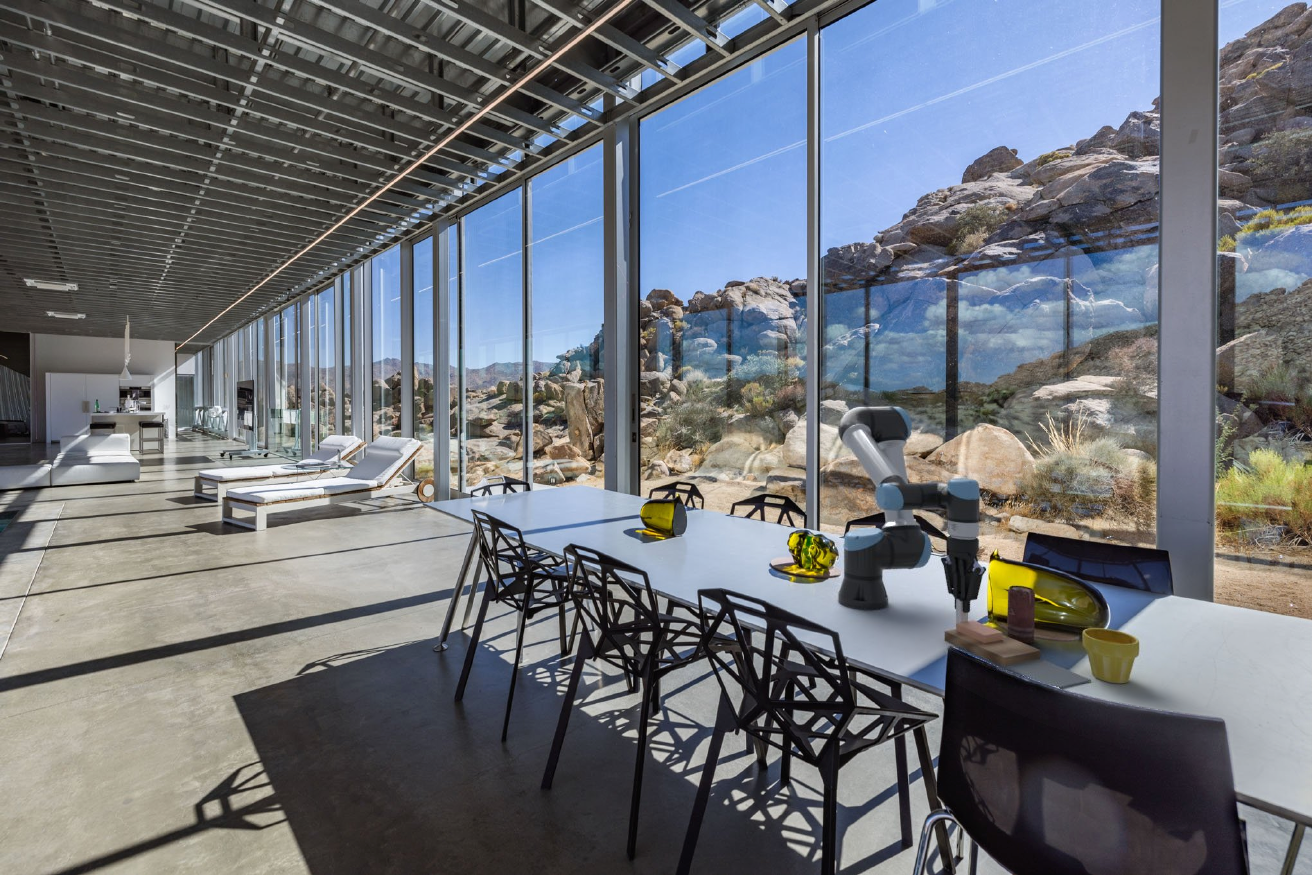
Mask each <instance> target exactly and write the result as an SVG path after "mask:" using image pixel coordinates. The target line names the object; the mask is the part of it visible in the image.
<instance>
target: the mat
mask: <svg viewBox="0 0 1312 875" xmlns="http://www.w3.org/2000/svg"><path fill="white" fill-rule="evenodd" d="M1004 669H1006V670H1008V671H1010V672H1011V673H1014V672H1015V674H1017V675H1019V676H1021V675H1024V676H1025V677H1029V678H1031V679H1034V680H1036V681H1040V682H1041V683H1045V684H1050V685H1051V686H1056V687H1059V688H1061V689H1064V688H1069V687H1073V686H1078V685H1082V684H1086V683H1090V682H1092V679H1091V678H1088V677H1085V676H1083V675H1080V674H1079V673H1077V672H1074V671H1071V670H1069V669H1066V668H1064V667H1061V666H1059V665H1057V664H1055V663H1052V662H1049V661H1047V660H1044V659H1042V658H1041V659H1037V660H1032V661H1027V662H1023V663H1018V664H1013V665H1008V666H1004ZM1025 677H1024V678H1025Z"/></svg>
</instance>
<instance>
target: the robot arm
mask: <svg viewBox="0 0 1312 875" xmlns="http://www.w3.org/2000/svg"><path fill="white" fill-rule="evenodd" d="M837 429H838V436H839V439H840V441H841V442H842V444H843V445H844V446H845V447H846V448H848V449H849V450H851V451H852V453H853V454H854V456H855V457H856V459H857V460H858V462H859V463H860V465H861V466H862V468H863V469H864V471H865V472H866V474H867V475H868V477H869V479H870V480H871V481H872V483H873V484H874V486H875V487H876V488H875V494H874V497H875V500H876V505H877V506H878V507H879V509H881V510H883V512H884V518H885V523H884V525H882V527H881V529H880V528H877V527H859V528H858V527H857V528H854V529H851V530H848V532H846V533H845V535H844V543H843V580H842V581H841V586H840V587H839V588H840V589H839V591H838V592H837V593H838V596H837V597H838V598H837V601H838V602H839V603H840V604H842V605H843V606H846V607H848V608H852V609H857V610H865V611H873V610H877V611H878V610H882V609H885V608H887V607H888V606H889V596H888V593H887V590H886V586H885V584H884V580H883V571H884V570H913V569H919V568H920V569H921V568H923V567H925V566H926V565H927V564H928V563H929V561H930V559H931V555H932V542H931V537H930V536H929V535H928V533H927V532H925V531H923V530H922V528H921V524H920V523H919V522H917V521H916V520H915V518H914V512H913V511H915V510H916V511H917V510H920V511H921V510H943V511H947V534H948V536H947V538H946V540H947V541H946V542H947V543H946V544H947V545H946V546H947V547H946V548H947V550H948V555H947V556H943V557H941V558H940V561H941V563H942V565H943V569H944V571H943V572H944V576H945V582H946V587H947V588H946V589H947V593H948V594H949V595H952V596H953V598H954V610H955V624H956V623H961V622H967V621H969V613H971V601H976V600H978V597H979V593H980V589H981V585H982V580H983V577H984V574H985V573H986V571H987V567H986V566H982V565H980V564H979V559H978V557H977V556H978V555H977V554H978V552H979V550H980V540H979V536H980V502H981V501H980V498H981V493H980V483H979V482H978V481H977V480H976V479H972V478H959V477H958V478H950V479H949V480H948V481H947V482H943V481H939V480H936V481H935V480H934V481H933V480H929V481H927V482H909V480H908V474H907V467H906V461H905V455H904V447H905V446H906V445H907V443H908V442H907V440H908V439H910V437H911V435H912V430H913V426H912V421H911V417H910V415H909V413H908V412H907V411H906V410H905V409H903V407H899V406H890V405H888V406H857V407H853V408H852V409H849V410H847V412H846V413H844V415H843V416H842V417H841V418H840V421H839V424H838V428H837Z"/></svg>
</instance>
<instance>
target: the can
mask: <svg viewBox="0 0 1312 875" xmlns="http://www.w3.org/2000/svg"><path fill="white" fill-rule="evenodd" d="M1035 604H1036V593H1035V591H1034V589H1033V588H1031V587H1028V586H1024V585H1010V586H1009V588H1008V590H1007V620H1006V621H1007V622H1006V626H1007V627H1006V628H1007V630H1006V636H1007V637H1009V638H1012V639H1014V640H1017V641H1019V642H1022V643H1024V644H1027V645H1029V644H1032V643H1034V641H1035V621H1036V620H1035V618H1036V617H1035V615H1036V612H1035V611H1036V610H1035V609H1036V607H1035V606H1036V605H1035Z"/></svg>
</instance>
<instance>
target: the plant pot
mask: <svg viewBox="0 0 1312 875" xmlns="http://www.w3.org/2000/svg"><path fill="white" fill-rule="evenodd" d="M1082 646H1083V648H1084V649H1085V650H1086V653H1087V657H1088V662H1089V667H1090V670H1091V674H1092V675H1093V676H1094V677H1095V678H1096V679H1098V680H1101V681H1103V682H1106V683H1111V684H1119V685H1120V684H1126V683H1128V682H1130V681H1129V680H1130V677H1131V674H1132V670H1133V666H1134V662H1135V659H1136V658H1137V657H1138V656H1139V655H1140V641H1139V639H1138V638H1137V637H1136V636H1134V635H1132V634H1129V633H1128V632H1127V633H1126V632H1123V631H1120V630H1116V629H1109V628H1101V627H1100V628H1099V627H1092V628H1091V627H1090V628H1085V629H1084V630H1083V631H1082Z"/></svg>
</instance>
